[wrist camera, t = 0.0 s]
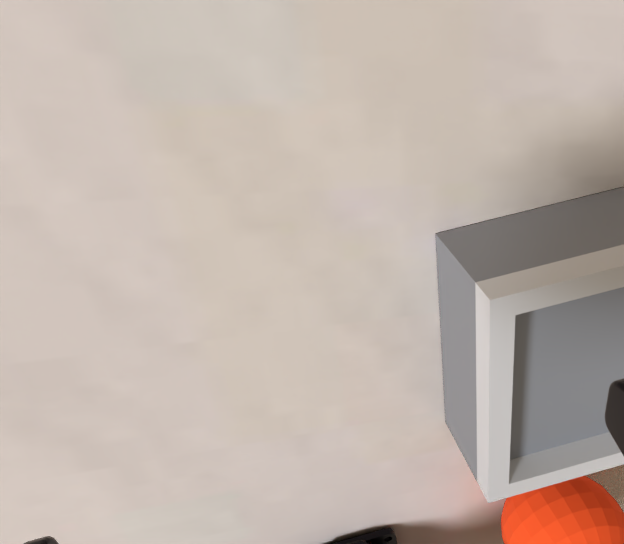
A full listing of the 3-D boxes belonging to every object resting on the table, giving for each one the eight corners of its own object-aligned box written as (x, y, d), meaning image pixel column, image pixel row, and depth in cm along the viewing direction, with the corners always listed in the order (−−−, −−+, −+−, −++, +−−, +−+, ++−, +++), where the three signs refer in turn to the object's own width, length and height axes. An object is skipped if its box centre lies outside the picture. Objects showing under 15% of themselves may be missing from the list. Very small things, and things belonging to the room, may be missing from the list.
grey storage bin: (648, 366, 32) (721, 436, 28) (445, 422, 31) (488, 503, 27) (689, 170, 26) (794, 221, 21) (435, 233, 25) (489, 300, 20)
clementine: (617, 446, 36) (705, 551, 30) (566, 518, 39) (636, 626, 33) (508, 441, 33) (580, 555, 27) (464, 518, 36) (519, 635, 30)
